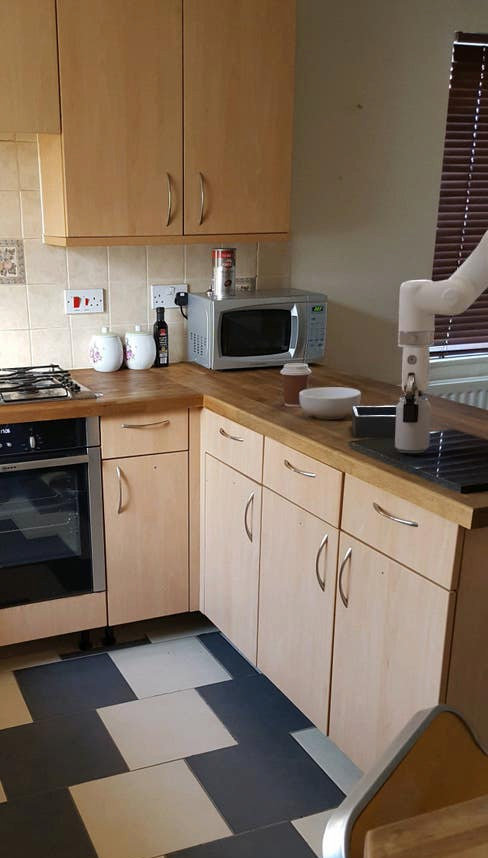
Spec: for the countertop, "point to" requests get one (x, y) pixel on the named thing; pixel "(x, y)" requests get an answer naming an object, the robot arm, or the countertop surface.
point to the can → (413, 428)
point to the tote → (374, 421)
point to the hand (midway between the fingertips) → (412, 418)
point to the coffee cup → (294, 382)
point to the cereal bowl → (329, 401)
